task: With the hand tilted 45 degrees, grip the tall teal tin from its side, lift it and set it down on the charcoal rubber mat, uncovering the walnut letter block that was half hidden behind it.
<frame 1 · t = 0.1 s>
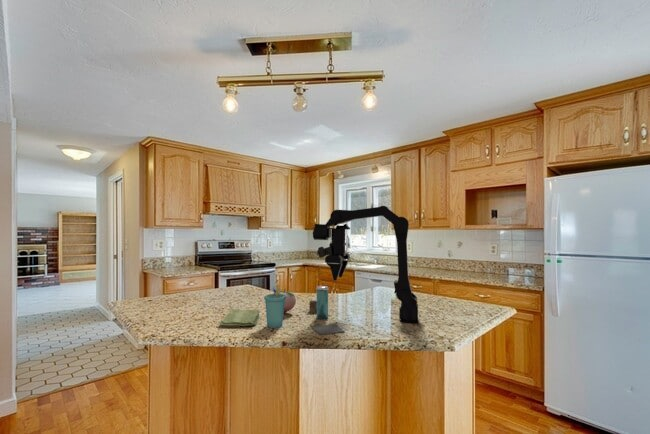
hand: (337, 278, 132), 15 cm above the countertop, tool pointing down, fingers open, 9 cm apart
washcloth: (241, 322, 123), on the countertop
decorative fruit: (284, 313, 134), on the countertop
mat: (327, 329, 112), on the countertop
cup: (274, 327, 116), on the countertop
tin: (322, 317, 127), on the countertop
letter block: (315, 310, 139), on the countertop
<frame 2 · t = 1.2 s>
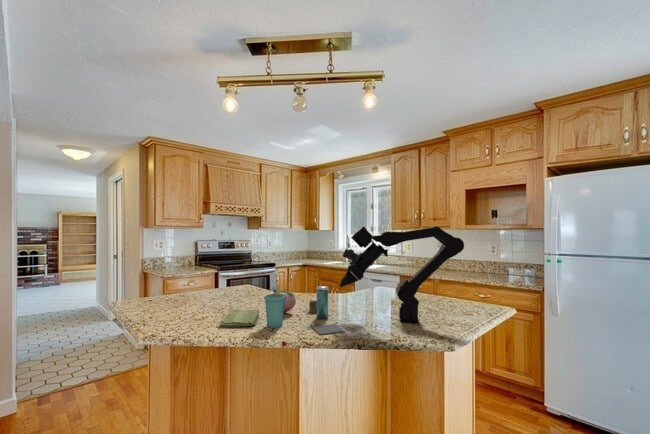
hand: (340, 284, 127), 13 cm above the countertop, tool tilted 45°, fingers open, 9 cm apart
nothing on the countertop moved.
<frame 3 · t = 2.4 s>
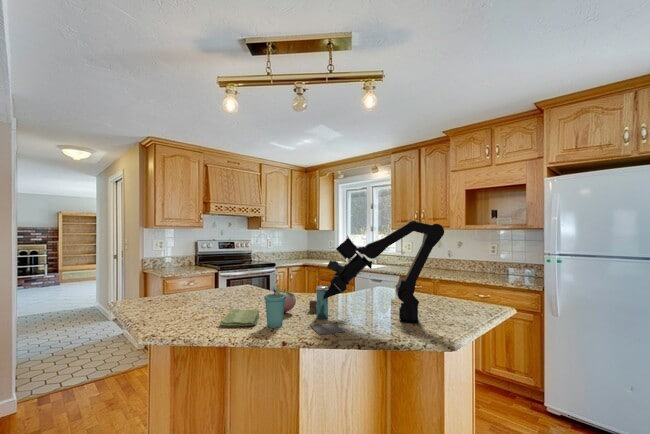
hand: (325, 295, 128), 9 cm above the countertop, tool tilted 45°, fingers open, 9 cm apart
nothing on the countertop moved.
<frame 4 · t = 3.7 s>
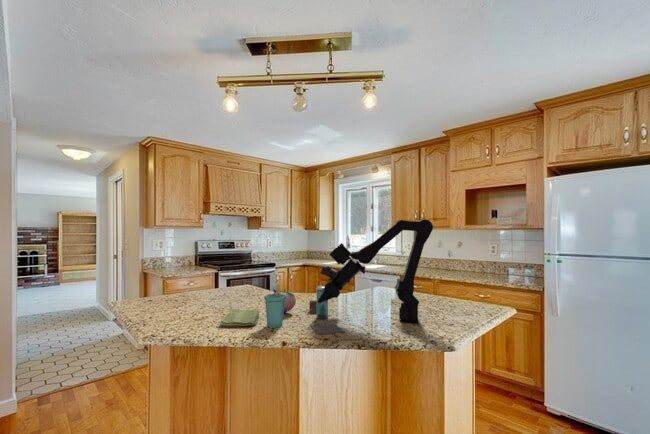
hand: (318, 300, 128), 7 cm above the countertop, tool tilted 45°, fingers closed on tin, 5 cm apart
tin: (322, 317, 127), on the countertop, touching gripper
everything else where it was.
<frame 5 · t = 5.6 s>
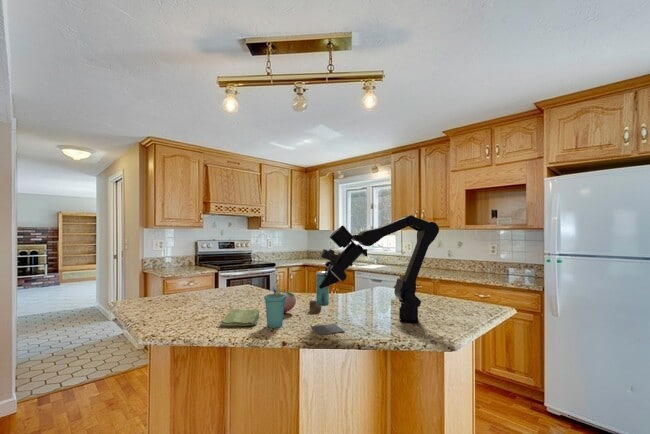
hand: (319, 286, 120), 13 cm above the countertop, tool tilted 45°, fingers closed on tin, 5 cm apart
tin: (322, 304, 120), point 7 cm above the countertop, touching gripper
everything else where it was.
when the fingers open (8 cm above the countertop, at t = 7.3 s): tin drops 1 cm, resting on mat.
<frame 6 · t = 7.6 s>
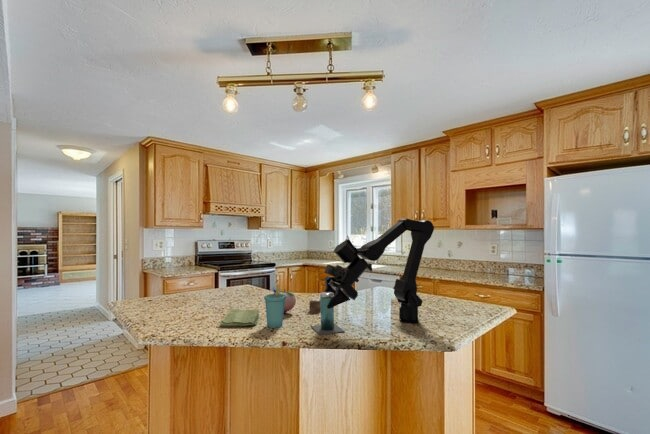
hand: (323, 305, 112), 8 cm above the countertop, tool tilted 45°, fingers open, 7 cm apart
tin: (327, 328, 112), resting on mat
everything else where it was.
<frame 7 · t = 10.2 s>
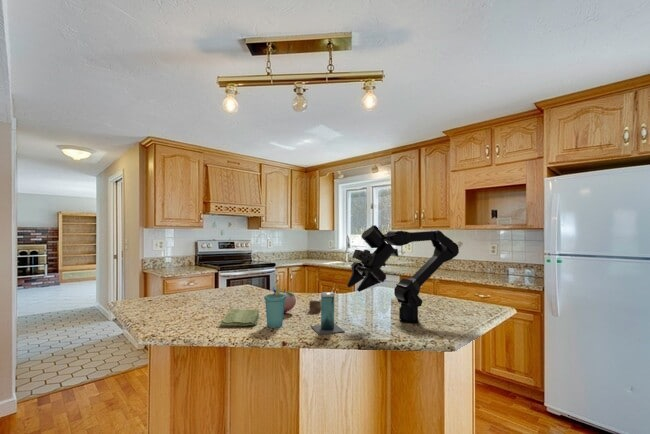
hand: (352, 288, 117), 13 cm above the countertop, tool tilted 45°, fingers open, 9 cm apart
nothing on the countertop moved.
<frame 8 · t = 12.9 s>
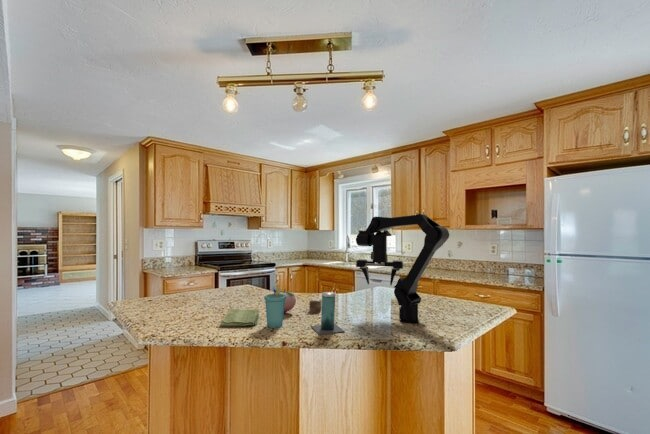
hand: (379, 284, 134), 12 cm above the countertop, tool pointing down, fingers open, 9 cm apart
nothing on the countertop moved.
at the end: tin 0.0 cm off-centre on the mat, point 0.5 cm above the mat's base; tin tilted 2°; letter block moved 0.1 cm from its start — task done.
